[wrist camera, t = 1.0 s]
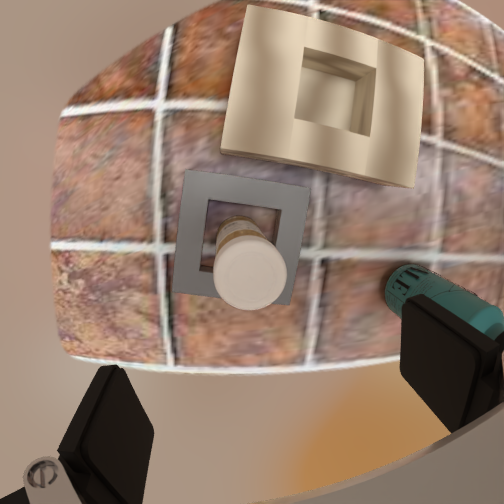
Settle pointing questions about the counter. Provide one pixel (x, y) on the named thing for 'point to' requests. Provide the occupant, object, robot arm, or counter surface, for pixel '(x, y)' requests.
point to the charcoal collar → (244, 192)
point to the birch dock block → (324, 99)
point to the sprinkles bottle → (247, 265)
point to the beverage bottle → (444, 299)
